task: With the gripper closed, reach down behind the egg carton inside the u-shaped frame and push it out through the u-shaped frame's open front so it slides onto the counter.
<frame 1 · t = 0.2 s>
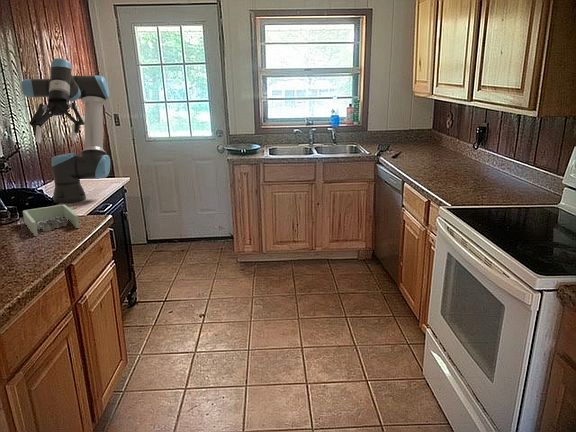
hand: (55, 141, 176), 35 cm above the table, tool tilted 35°, fingers open, 13 cm apart
egg carton: (53, 228, 184), on the table
u-shaped frame: (51, 225, 185), on the table
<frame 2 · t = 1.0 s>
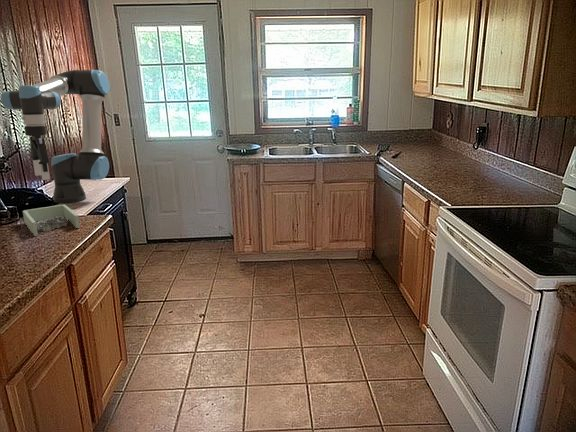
hand: (42, 177, 186), 19 cm above the table, tool pointing down, fingers open, 13 cm apart
nothing on the table moved.
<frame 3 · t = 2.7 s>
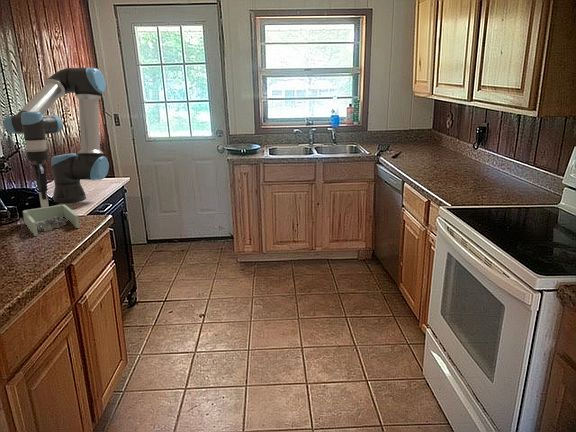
hand: (45, 206, 189), 7 cm above the table, tool pointing down, fingers closed
nothing on the table moved.
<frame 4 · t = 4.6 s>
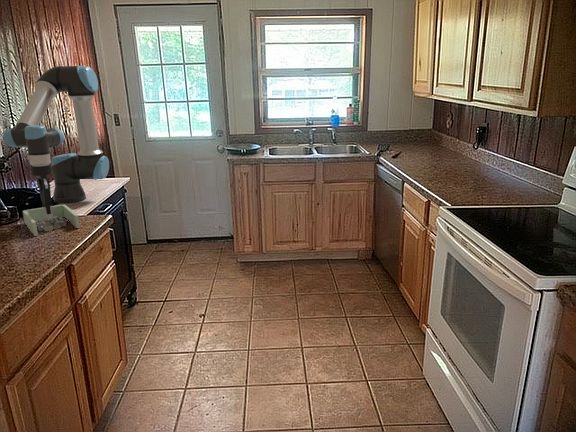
hand: (49, 220, 187), 2 cm above the table, tool pointing down, fingers closed
egg carton: (52, 228, 183), on the table, touching gripper
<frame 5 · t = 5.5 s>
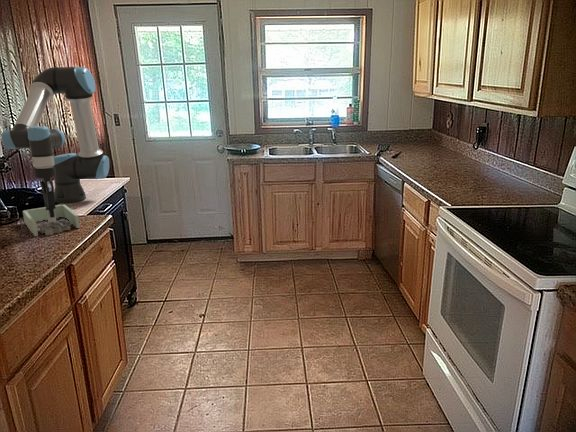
hand: (53, 224, 182), 2 cm above the table, tool pointing down, fingers closed
egg carton: (56, 231, 179), on the table, touching gripper
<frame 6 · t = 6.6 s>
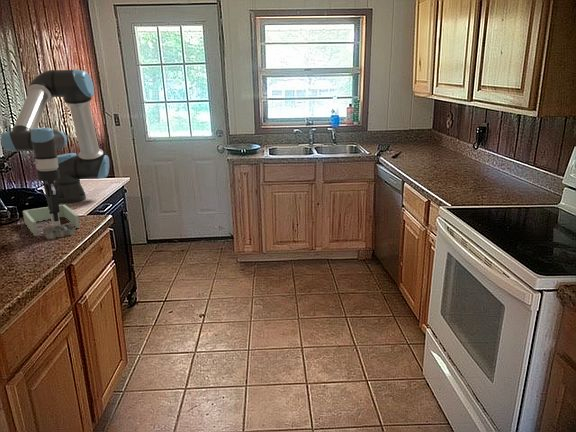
hand: (56, 228, 177), 2 cm above the table, tool pointing down, fingers closed
egg carton: (60, 235, 174), on the table, touching gripper
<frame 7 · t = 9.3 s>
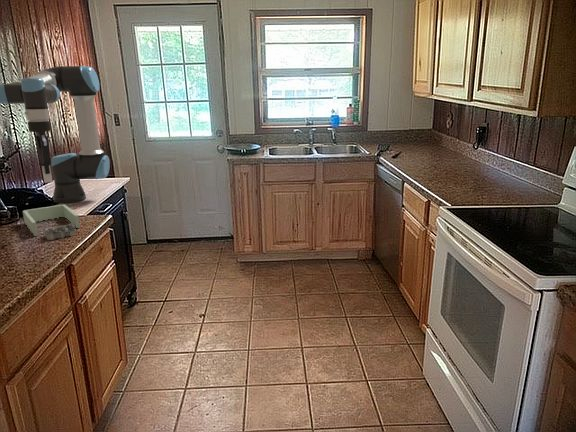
hand: (48, 181, 176), 19 cm above the table, tool pointing down, fingers closed
egg carton: (60, 236, 173), on the table
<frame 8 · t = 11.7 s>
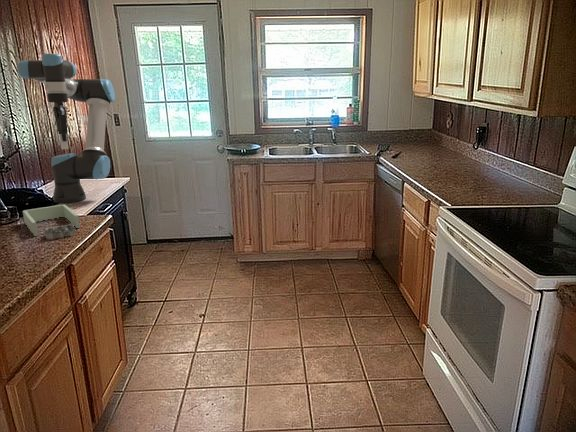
hand: (65, 148, 195), 29 cm above the table, tool pointing down, fingers closed
nothing on the table moved.
at the end: egg carton inside the target area (6.5 cm from its centre), on the table; egg carton moved 13.3 cm from its start; egg carton tilted 0° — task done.
